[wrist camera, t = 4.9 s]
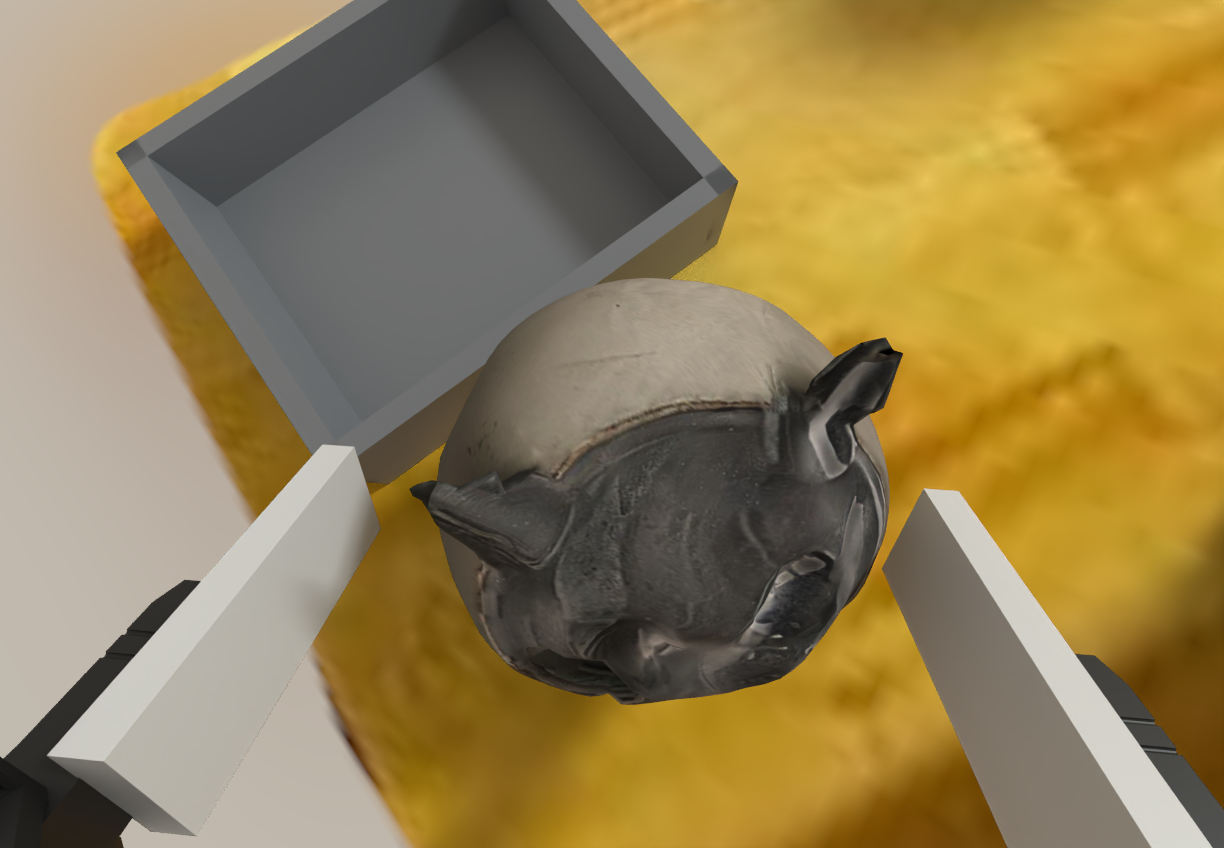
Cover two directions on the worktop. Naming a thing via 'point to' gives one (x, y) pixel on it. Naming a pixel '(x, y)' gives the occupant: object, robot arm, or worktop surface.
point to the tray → (422, 203)
